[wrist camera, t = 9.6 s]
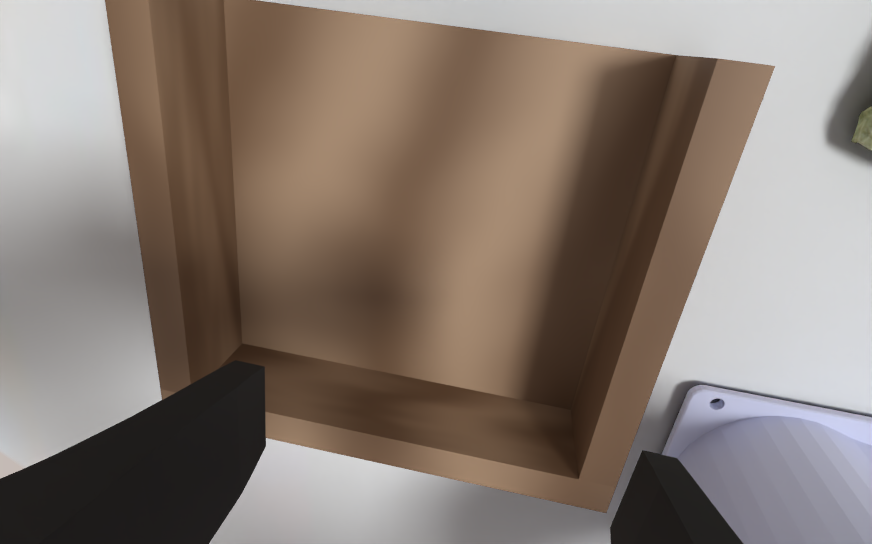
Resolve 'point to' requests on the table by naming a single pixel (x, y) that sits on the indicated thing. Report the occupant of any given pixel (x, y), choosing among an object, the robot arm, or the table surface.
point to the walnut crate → (424, 227)
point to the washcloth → (864, 129)
